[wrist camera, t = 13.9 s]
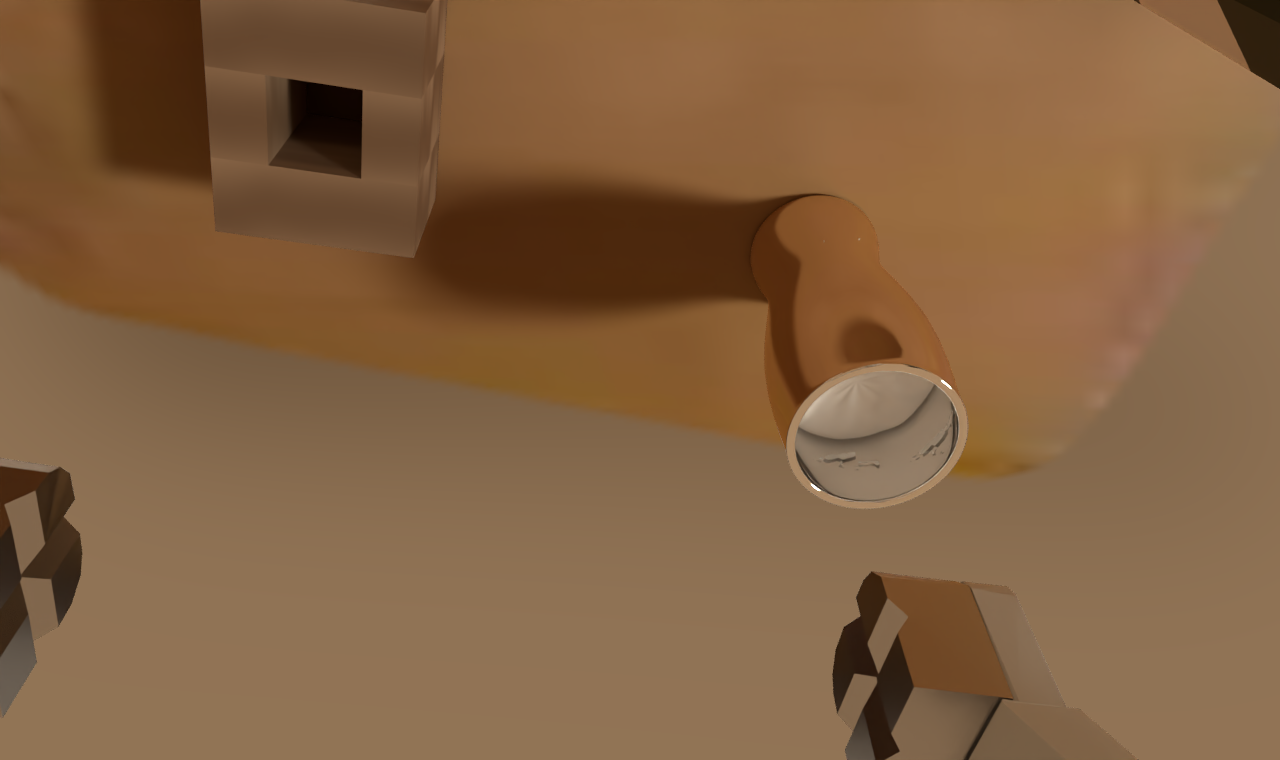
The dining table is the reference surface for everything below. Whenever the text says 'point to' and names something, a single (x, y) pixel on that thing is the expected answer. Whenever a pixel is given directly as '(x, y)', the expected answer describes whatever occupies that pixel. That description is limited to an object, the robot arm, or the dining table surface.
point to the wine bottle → (1231, 29)
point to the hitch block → (324, 119)
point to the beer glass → (851, 361)
